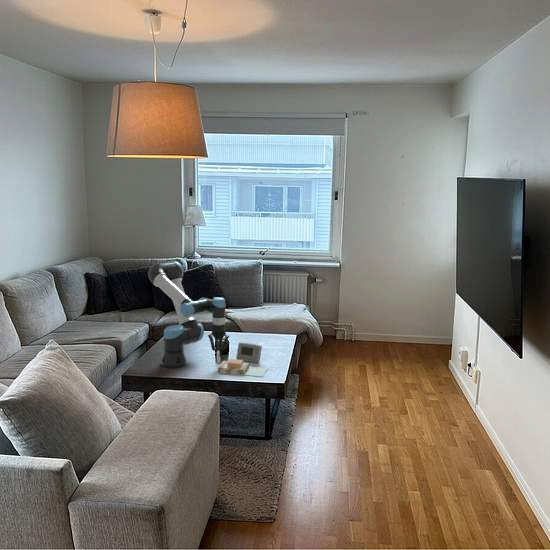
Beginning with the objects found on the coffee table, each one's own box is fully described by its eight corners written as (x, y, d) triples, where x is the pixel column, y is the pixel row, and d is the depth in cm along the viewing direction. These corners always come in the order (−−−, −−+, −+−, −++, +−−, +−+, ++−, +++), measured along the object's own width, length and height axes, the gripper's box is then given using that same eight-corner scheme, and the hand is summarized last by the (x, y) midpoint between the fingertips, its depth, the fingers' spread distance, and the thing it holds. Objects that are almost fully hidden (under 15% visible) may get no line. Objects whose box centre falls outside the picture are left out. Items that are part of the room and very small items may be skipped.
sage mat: (244, 375, 317) (244, 374, 317) (249, 367, 331) (249, 366, 331) (262, 377, 315) (262, 376, 315) (267, 368, 329) (267, 368, 329)
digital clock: (234, 359, 344) (234, 343, 342) (243, 356, 351) (243, 340, 349) (255, 365, 335) (255, 348, 333) (263, 361, 342) (264, 345, 340)
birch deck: (217, 372, 321) (218, 367, 320) (223, 365, 333) (223, 360, 332) (244, 374, 318) (244, 369, 318) (249, 367, 330) (249, 363, 329)
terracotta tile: (227, 366, 322) (227, 362, 321) (230, 362, 329) (230, 358, 328) (240, 367, 321) (240, 363, 320) (243, 364, 327) (243, 360, 327)
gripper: (206, 324, 320) (206, 363, 324) (227, 326, 317) (227, 364, 321) (210, 321, 327) (210, 359, 331) (231, 322, 324) (230, 360, 329)
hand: (218, 361), depth 326 cm, fingers closed
